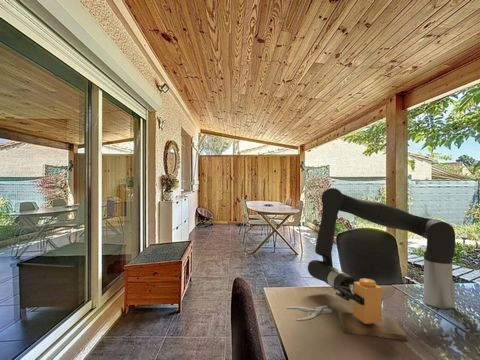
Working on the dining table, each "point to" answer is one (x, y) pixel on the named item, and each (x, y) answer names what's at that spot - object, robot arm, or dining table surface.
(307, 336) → the dining table surface
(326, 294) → the dining table surface
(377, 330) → the board
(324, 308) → the pliers
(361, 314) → the orange toy brick
